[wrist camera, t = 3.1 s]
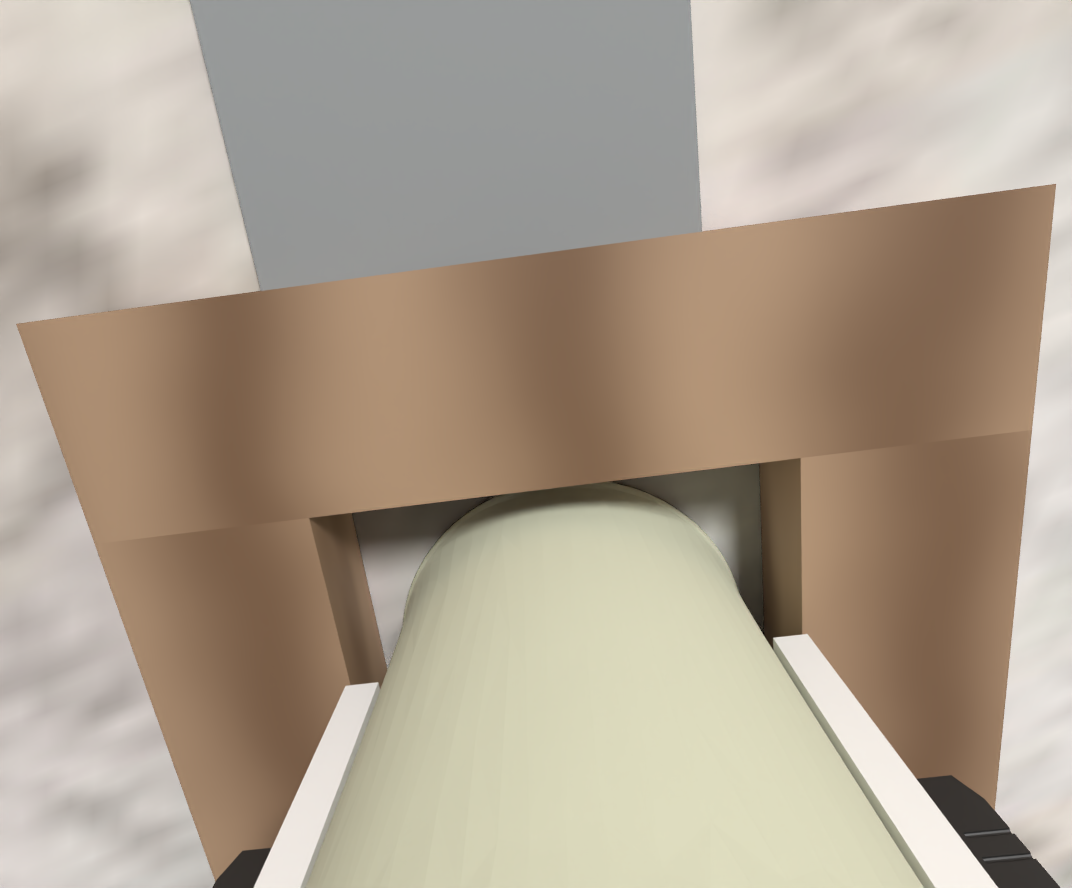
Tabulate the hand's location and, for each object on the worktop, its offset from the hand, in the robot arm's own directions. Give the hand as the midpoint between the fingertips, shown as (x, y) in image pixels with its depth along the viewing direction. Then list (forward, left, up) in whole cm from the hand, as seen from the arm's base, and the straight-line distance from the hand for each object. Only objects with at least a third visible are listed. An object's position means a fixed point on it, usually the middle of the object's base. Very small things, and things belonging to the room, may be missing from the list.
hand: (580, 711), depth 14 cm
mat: (-1, +15, -3) cm, 15 cm away
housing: (0, 0, -3) cm, 3 cm away
